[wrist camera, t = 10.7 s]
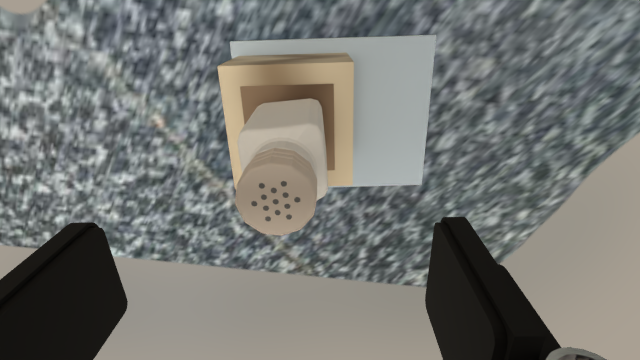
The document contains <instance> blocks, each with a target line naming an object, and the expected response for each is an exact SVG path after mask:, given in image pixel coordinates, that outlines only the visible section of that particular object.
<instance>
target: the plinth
mask: <svg viewBox="0 0 640 360" xmlns="http://www.w3.org/2000/svg"><path fill="white" fill-rule="evenodd" d="M217 67H218V74H219V81H220V88H221V95H222V102H223V109H224V116H225V123H226V130H227V137H228V144H229V151H230V158H231V165H232V172H233V179H234V186H235V189H236V186H237V183H238V181H239V179H240V178H241V175H242V169H241V163H240V158H239V151H238V144H237V141H238V137H239V133H240V131H241V130H242V128H243V127H244V125H245V124H246V122H247V121H248V120H249V118H250V117H251V115H252V114H253V112H254V111H255V109H256V108H257V107H258V106H259V105H261V104H263V103H270V102H280V101H289V100H299V99H309V98H311V99H315V100H318V101H319V103H320V105H321V107H322V114H323V124H324V134H325V144H326V157H327V175H328V186H353V102H354V61H353V60H352V59H351V58H350V56H349V55H348V54H347V53H316V54H284V55H252V56H237V57H235V58H233V59H231V60H229V61H227V62H225V63H223V64H221V65H219V66H217Z"/></svg>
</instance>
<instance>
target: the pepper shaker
mask: <svg viewBox="0 0 640 360" xmlns="http://www.w3.org/2000/svg"><path fill="white" fill-rule="evenodd" d="M237 144H238V151H239V158H240V163H241V169H242V175H241V178H240V179H239V181H238V183H237V186H236V200H235V205H236V207H237V209H238V211H239V212H240V214H241V216H242V218H243V220H244V222H246V223H247V224H249V225H250V226H252V227H253V228H255V229H256V230H258V231H259V232H261V233H265V234H273V235H280V236H282V235H285V234H288V233H291V232H295V231H298V230H301V229H302V228H303V227H304V225H305V224H306V223H307V222H308V221H309V220H310V219H311V218H312V217H313V216H314V212H315V206H316V201H317V200H319V199H320V198H322V197H324V196H325V195H326V192H327V190H328V175H327V157H326V144H325V134H324V124H323V114H322V107H321V105H320V103H319V101H318V100H315V99H311V98H309V99H299V100H289V101H280V102H270V103H263V104H261V105H259V106H258V107H257V108H256V109H255V111H254V112H253V114H252V115H251V117H250V118H249V120H248V121H247V122H246V124H245V125H244V127H243V128H242V130H241V131H240V133H239V137H238V141H237Z"/></svg>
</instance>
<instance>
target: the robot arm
mask: <svg viewBox="0 0 640 360" xmlns="http://www.w3.org/2000/svg"><path fill="white" fill-rule="evenodd" d="M425 301H426V309H427V313H428V315H429V319H430V322H431V324H432V327H433V330H434V333H435V336H436V339H437V342H438V345H439V348H440V351H441V354H442V357H443V360H607V359H604V358H603V357H601V356H599V355H597V354H595V353H592V352H589V351H586V350H583V349H578V348H571V347H567V348H561V347H560V345H559V344H558V342H557V341H556V339H555V338H554V337H553V335H552V334H551V333H550V331H549V330H548V328H547V327H546V325H545V324H544V322H543V321H542V320H541V318H540V317H539V315H538V314H537V312H536V311H535V309H534V308H533V307H532V305H531V304H530V302H529V301H528V299H527V298H526V297H525V295H524V294H523V292H522V291H521V289H520V288H519V287H518V285H517V284H516V282H515V281H514V280H513V278H512V277H511V275H510V274H509V272H508V271H507V270H506V268H505V267H504V266H502V265H500V264H497V263H496V261H495V260H494V259H493V257H492V256H491V254H490V253H489V251H488V250H487V248H486V247H485V245H484V244H483V242H482V241H481V239H480V238H479V236H478V235H477V233H476V232H475V230H474V229H473V228H472V226H471V225H470V223H469V222H468V220H467V219H466V218H465V217H443V218H442V220H441V223H435V226H434V233H433V241H432V249H431V257H430V265H429V273H428V281H427V289H426V299H425ZM126 309H127V298H126V295H125V292H124V289H123V286H122V283H121V280H120V277H119V274H118V271H117V268H116V266H115V262H114V259H113V256H112V253H111V250H110V247H109V244H108V241H107V238H106V235H105V232H104V230H103V229H102V228H99V227H98V225H97V224H95V223H70V224H69V225H67V226H66V227H65V228H63V229H62V230H61V231H60V232H58V233H57V234H56V235H55V236H54V237H52V238H51V239H50V240H49V241H47V242H46V243H45V244H44V245H42V246H41V247H40V248H39V249H38V250H36V251H35V252H34V253H33V254H31V255H30V256H29V257H28V258H27V259H25V260H24V261H23V262H22V263H21V264H19V265H18V266H17V267H16V268H14V269H13V270H12V271H11V272H9V273H8V274H7V275H6V276H4V277H3V278H2V279H1V280H0V360H93V359H94V358H95V356H96V355H97V353H98V352H99V350H100V349H101V347H102V346H103V344H104V343H105V341H106V340H107V338H108V337H109V336H110V334H111V332H112V331H113V329H114V328H115V326H116V325H117V324H118V322H119V321H120V319H121V318H122V316H123V315H124V313H125V311H126Z"/></svg>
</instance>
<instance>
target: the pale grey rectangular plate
mask: <svg viewBox="0 0 640 360" xmlns="http://www.w3.org/2000/svg"><path fill="white" fill-rule="evenodd" d="M435 45H436V35H406V36H374V37H342V38H311V39H279V40H247V41H230V47H231V55H232V59H233V58H235V57H237V56H252V55H284V54H316V53H347V54H348V55H349V56H350V58H351V59H352V60H353V61H354V102H353V186H328V187H361V186H397V185H422V175H423V165H424V155H425V145H426V135H427V125H428V115H429V105H430V95H431V85H432V75H433V65H434V55H435Z"/></svg>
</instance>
